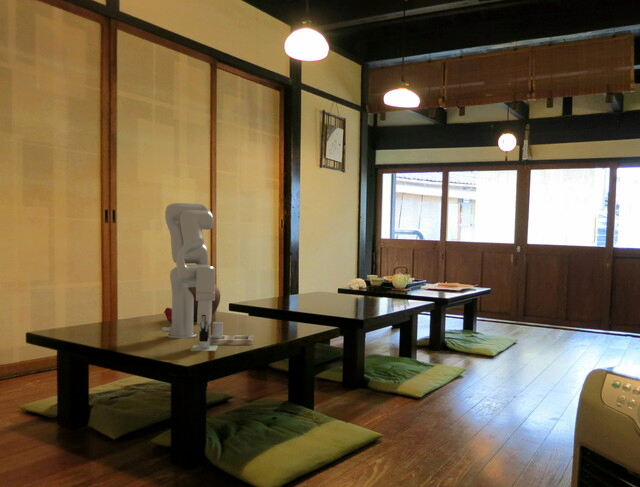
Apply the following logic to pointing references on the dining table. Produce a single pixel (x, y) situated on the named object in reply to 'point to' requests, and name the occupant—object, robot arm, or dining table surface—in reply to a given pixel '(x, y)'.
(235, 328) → the dining table surface
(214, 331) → the block
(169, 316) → the decorative bird figurine
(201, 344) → the billet
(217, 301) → the pottery
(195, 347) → the rubber mat
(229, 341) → the pallet
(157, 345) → the dining table surface
